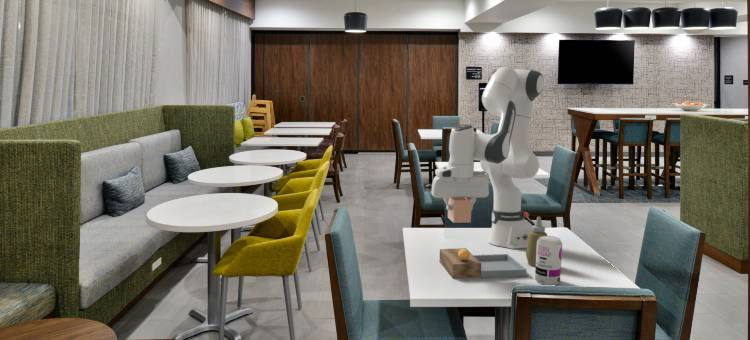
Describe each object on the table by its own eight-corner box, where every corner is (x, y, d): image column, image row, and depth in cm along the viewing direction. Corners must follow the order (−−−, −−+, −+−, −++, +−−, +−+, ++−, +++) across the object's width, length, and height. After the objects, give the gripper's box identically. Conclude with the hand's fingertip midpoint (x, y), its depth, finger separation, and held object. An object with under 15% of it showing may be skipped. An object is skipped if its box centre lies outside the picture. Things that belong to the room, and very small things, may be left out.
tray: (507, 260, 216) (507, 253, 216) (526, 276, 199) (526, 269, 198) (466, 261, 214) (466, 255, 214) (481, 278, 196) (481, 271, 196)
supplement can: (559, 279, 196) (562, 236, 194) (560, 287, 188) (562, 243, 186) (535, 276, 199) (537, 234, 196) (534, 284, 191) (536, 240, 188)
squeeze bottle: (545, 269, 206) (547, 220, 203) (522, 265, 210) (525, 217, 207) (550, 263, 213) (552, 216, 210) (528, 259, 217) (530, 213, 214)
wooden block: (465, 261, 215) (465, 248, 214) (480, 277, 197) (481, 263, 197) (439, 262, 214) (439, 249, 213) (452, 278, 196) (453, 264, 195)
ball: (467, 258, 202) (468, 247, 201) (471, 261, 198) (471, 250, 198) (456, 258, 202) (457, 247, 201) (459, 262, 198) (460, 250, 197)
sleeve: (464, 217, 208) (465, 195, 207) (470, 222, 200) (471, 200, 199) (447, 217, 207) (448, 195, 206) (453, 222, 200) (454, 200, 198)
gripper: (486, 169, 206) (484, 207, 208) (430, 170, 203) (429, 208, 205) (492, 172, 200) (490, 211, 202) (435, 172, 197) (433, 212, 199)
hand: (459, 209), depth 203 cm, fingers closed on sleeve, 6 cm apart
